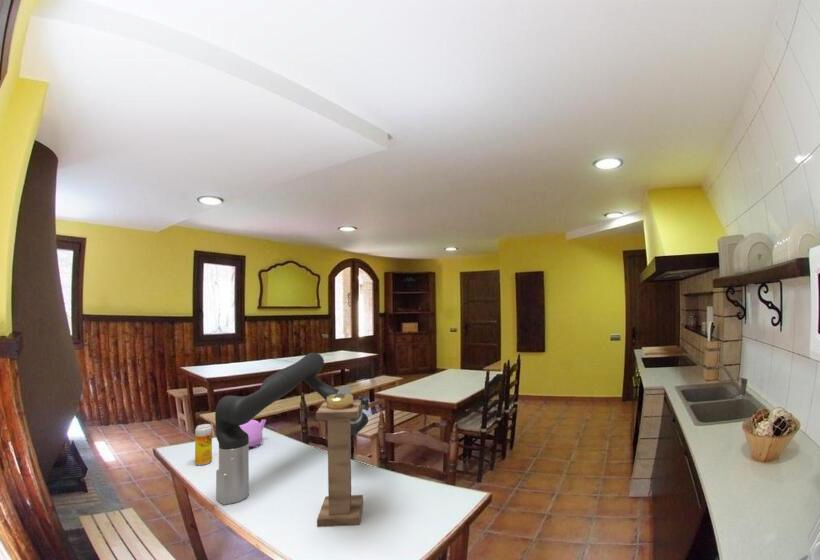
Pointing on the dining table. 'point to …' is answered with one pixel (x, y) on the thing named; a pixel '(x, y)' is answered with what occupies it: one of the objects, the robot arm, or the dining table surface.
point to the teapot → (254, 431)
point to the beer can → (203, 444)
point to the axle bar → (340, 399)
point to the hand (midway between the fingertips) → (347, 399)
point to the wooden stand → (339, 469)
